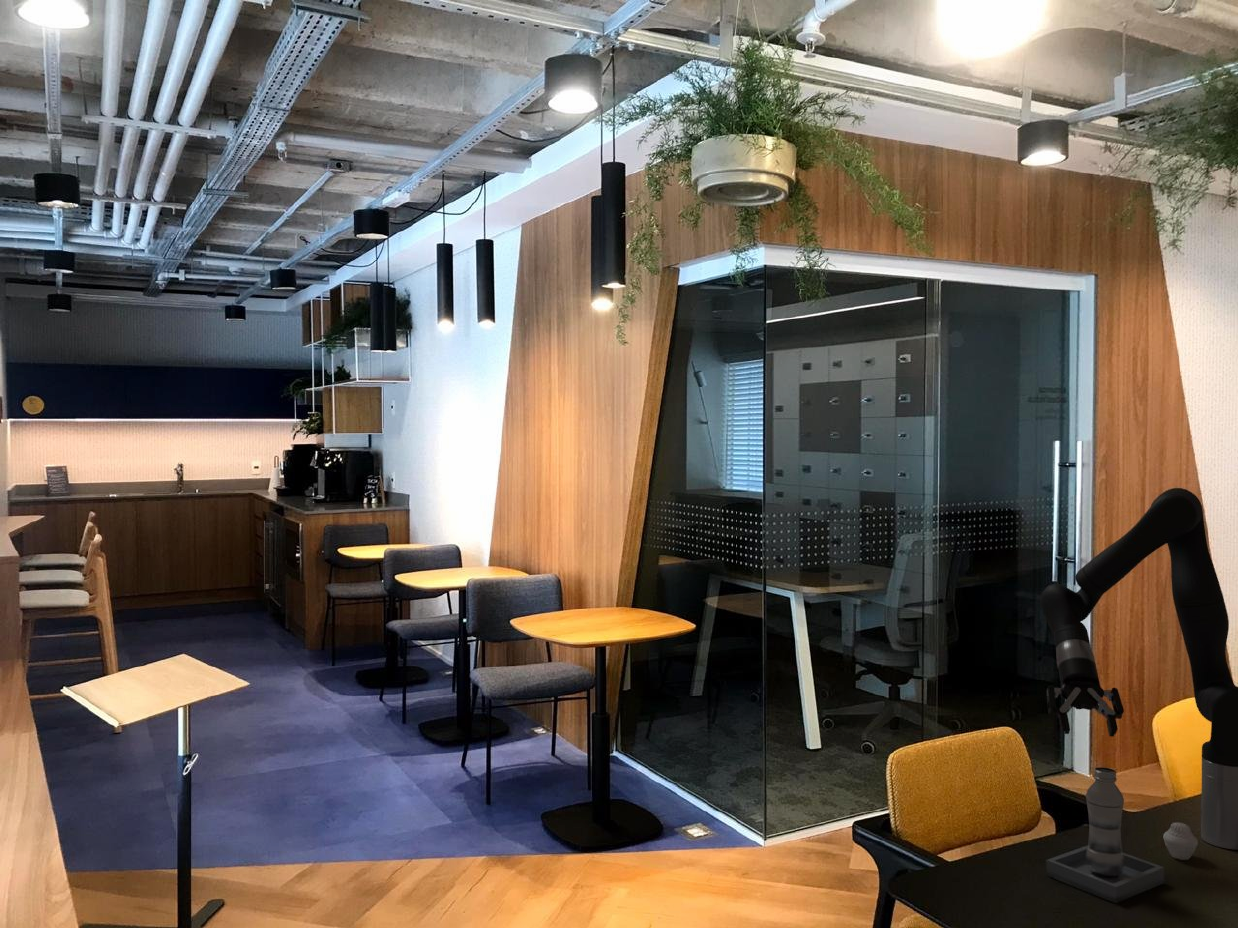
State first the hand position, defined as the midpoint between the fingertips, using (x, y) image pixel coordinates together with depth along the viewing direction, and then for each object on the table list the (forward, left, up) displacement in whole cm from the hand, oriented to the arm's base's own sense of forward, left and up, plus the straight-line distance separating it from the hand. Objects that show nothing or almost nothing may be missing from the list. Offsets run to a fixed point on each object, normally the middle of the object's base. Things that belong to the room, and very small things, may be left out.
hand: (1090, 733), depth 202 cm
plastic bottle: (+9, +9, -24) cm, 27 cm away
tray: (+9, +9, -24) cm, 28 cm away
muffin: (-14, +11, -25) cm, 30 cm away
